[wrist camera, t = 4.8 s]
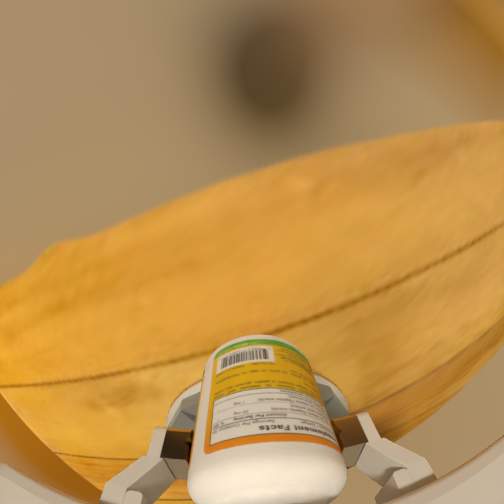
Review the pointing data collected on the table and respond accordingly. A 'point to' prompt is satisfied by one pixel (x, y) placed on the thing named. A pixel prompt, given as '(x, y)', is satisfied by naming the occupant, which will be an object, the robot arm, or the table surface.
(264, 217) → the table surface
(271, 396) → the supplement bottle
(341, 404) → the grey faceted round plate
